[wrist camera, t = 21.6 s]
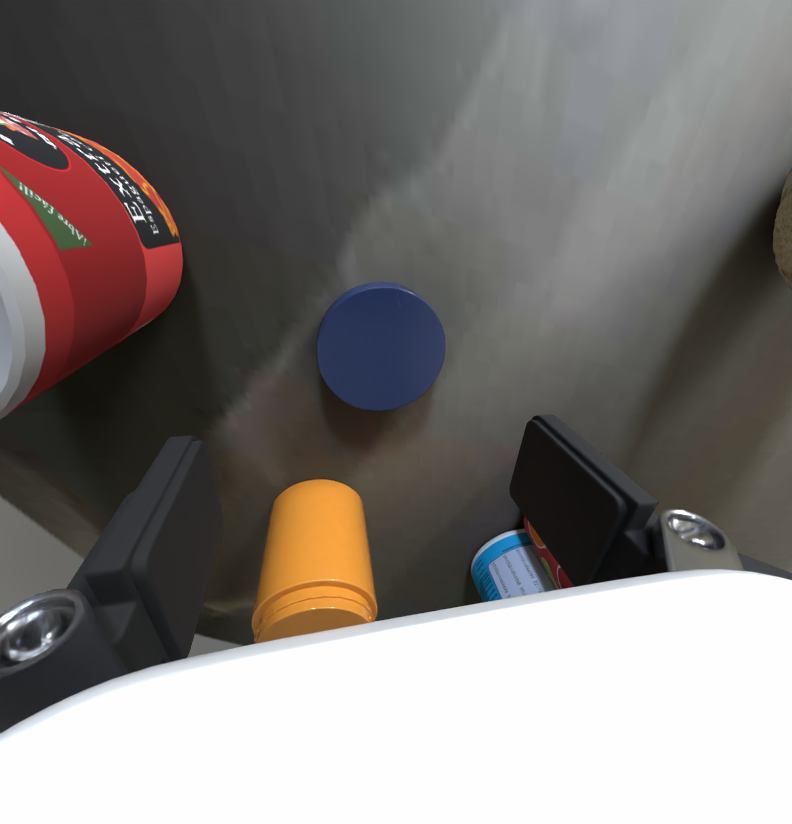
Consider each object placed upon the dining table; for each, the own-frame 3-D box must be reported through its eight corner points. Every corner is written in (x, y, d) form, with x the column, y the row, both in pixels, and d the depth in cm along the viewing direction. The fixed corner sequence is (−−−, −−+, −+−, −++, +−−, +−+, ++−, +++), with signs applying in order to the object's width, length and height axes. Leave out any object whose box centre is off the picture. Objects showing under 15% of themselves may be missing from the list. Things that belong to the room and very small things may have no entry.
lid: (426, 403, 23) (432, 414, 22) (315, 399, 22) (314, 410, 20) (449, 289, 20) (457, 294, 19) (318, 274, 18) (318, 279, 17)
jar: (290, 555, 28) (277, 690, 20) (254, 494, 24) (222, 629, 17) (373, 530, 28) (392, 654, 20) (349, 467, 25) (362, 587, 17)
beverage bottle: (519, 510, 30) (772, 912, 13) (569, 544, 34) (814, 889, 17) (448, 567, 32) (586, 969, 15) (502, 592, 36) (660, 937, 19)
